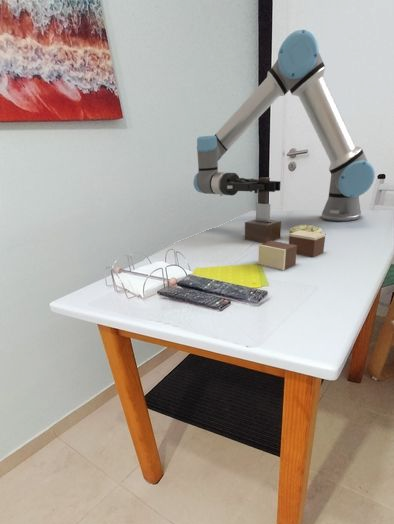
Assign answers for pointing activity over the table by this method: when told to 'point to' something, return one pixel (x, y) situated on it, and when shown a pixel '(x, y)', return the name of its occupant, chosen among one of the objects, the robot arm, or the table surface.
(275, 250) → the cake slice
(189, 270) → the table surface
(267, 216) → the knife
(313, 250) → the cake
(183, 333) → the table surface
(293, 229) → the decorated donut
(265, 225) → the knife block
